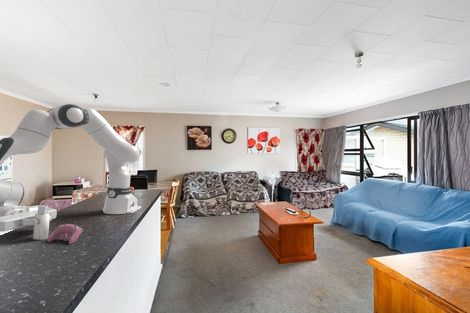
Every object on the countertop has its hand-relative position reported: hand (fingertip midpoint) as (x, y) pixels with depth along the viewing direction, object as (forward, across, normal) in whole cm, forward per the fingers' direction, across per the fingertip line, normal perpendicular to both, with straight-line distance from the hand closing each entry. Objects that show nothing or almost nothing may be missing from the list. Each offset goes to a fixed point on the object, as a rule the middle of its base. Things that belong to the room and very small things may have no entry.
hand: (44, 220), depth 84 cm
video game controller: (+9, 0, +7) cm, 12 cm away
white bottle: (-1, 0, +6) cm, 7 cm away
